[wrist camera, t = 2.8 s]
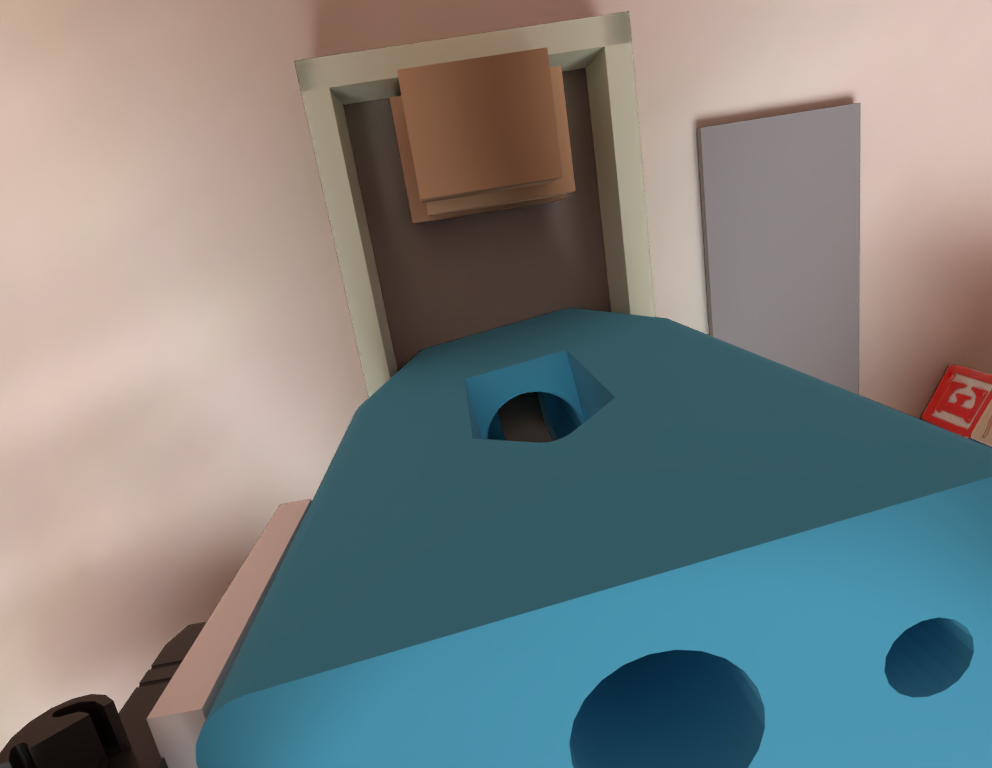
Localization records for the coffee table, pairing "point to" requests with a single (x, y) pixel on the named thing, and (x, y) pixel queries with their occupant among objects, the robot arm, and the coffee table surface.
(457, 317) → the coffee table surface
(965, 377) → the stack of blocks
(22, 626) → the coffee table surface
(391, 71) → the frame
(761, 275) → the felt mat
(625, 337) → the block
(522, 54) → the offcut stack
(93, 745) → the robot arm
